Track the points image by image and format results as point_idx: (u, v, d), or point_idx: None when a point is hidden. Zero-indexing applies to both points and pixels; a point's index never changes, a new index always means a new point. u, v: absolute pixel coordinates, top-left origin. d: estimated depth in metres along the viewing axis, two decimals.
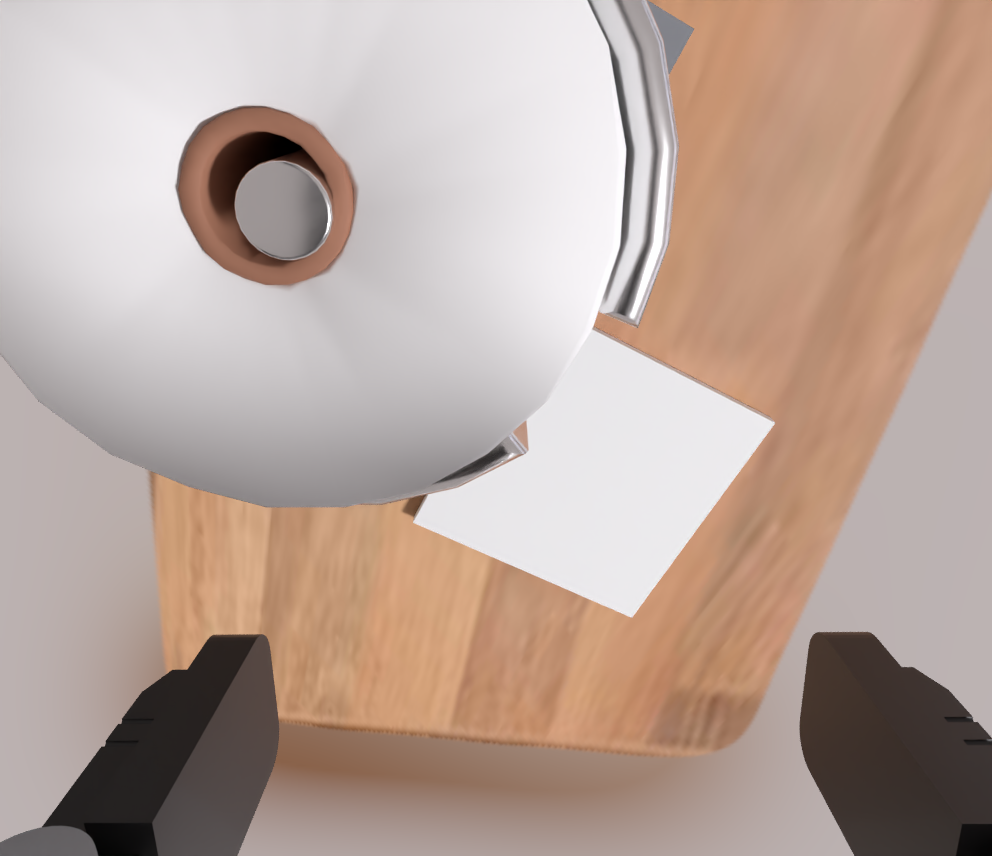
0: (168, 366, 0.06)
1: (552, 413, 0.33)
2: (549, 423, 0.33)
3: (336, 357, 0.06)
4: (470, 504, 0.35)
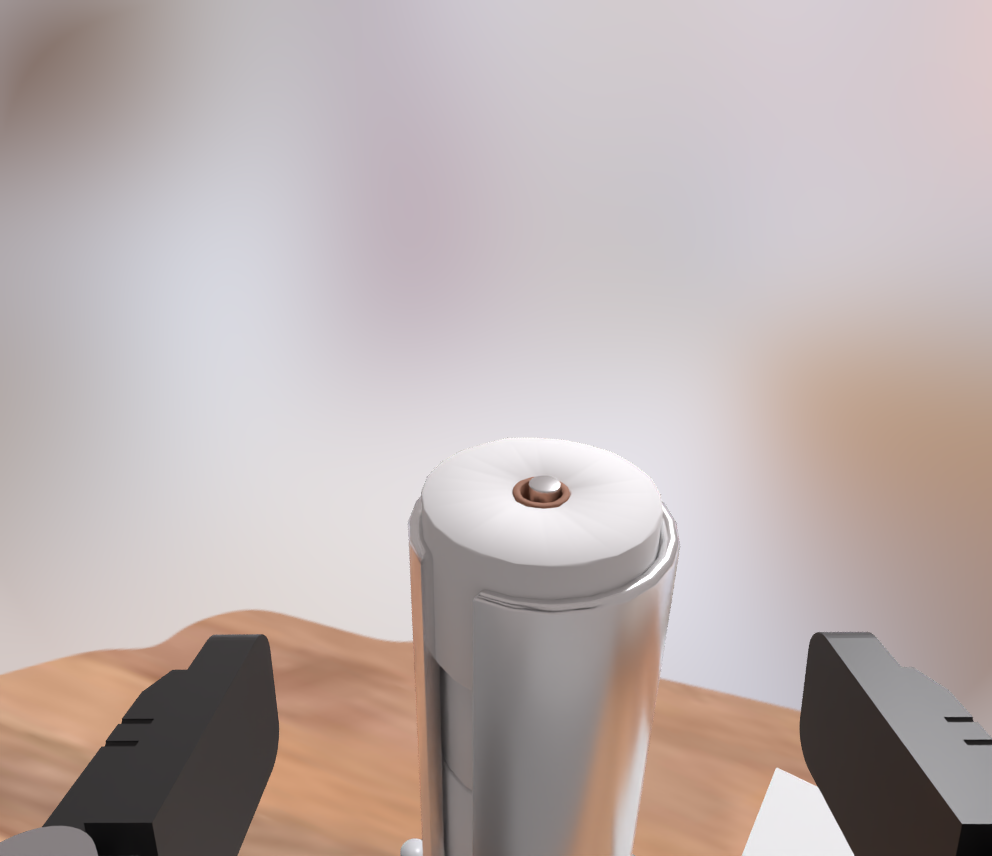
0: (600, 521, 0.17)
1: None
2: None
3: (596, 486, 0.18)
4: None
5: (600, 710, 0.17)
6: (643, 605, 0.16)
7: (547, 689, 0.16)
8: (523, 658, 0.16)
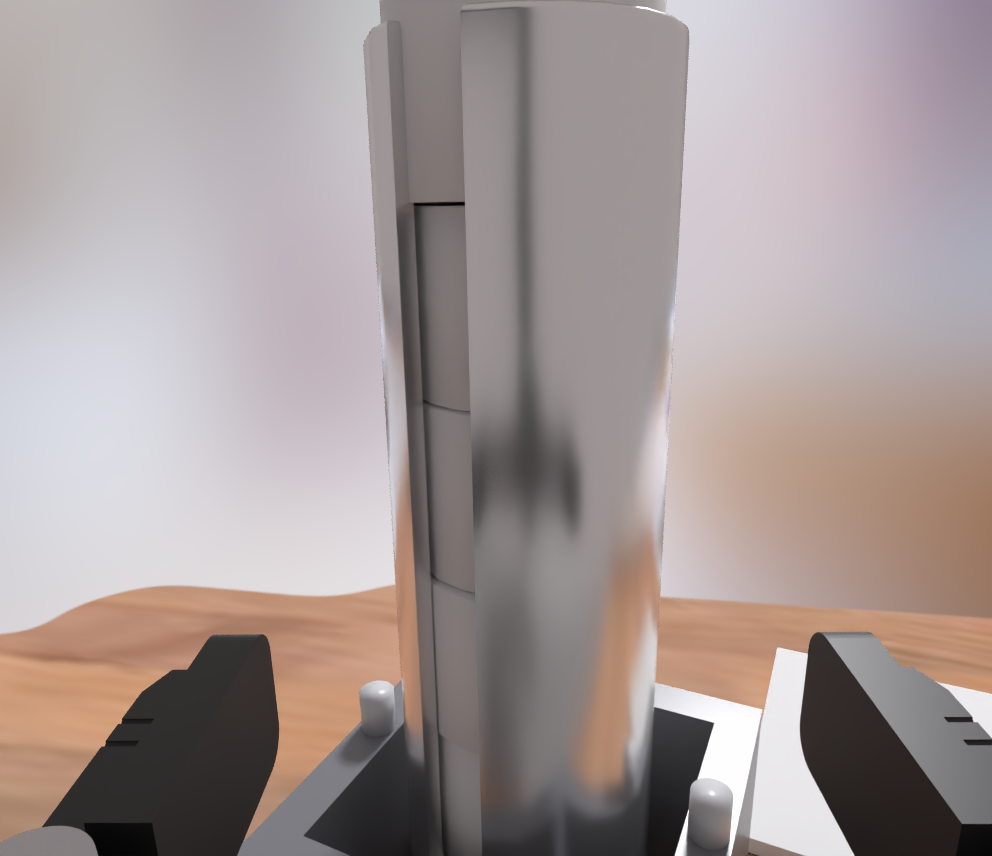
0: None
1: None
2: None
3: None
4: None
5: (625, 198, 0.13)
6: (664, 42, 0.13)
7: (560, 144, 0.13)
8: (527, 91, 0.13)
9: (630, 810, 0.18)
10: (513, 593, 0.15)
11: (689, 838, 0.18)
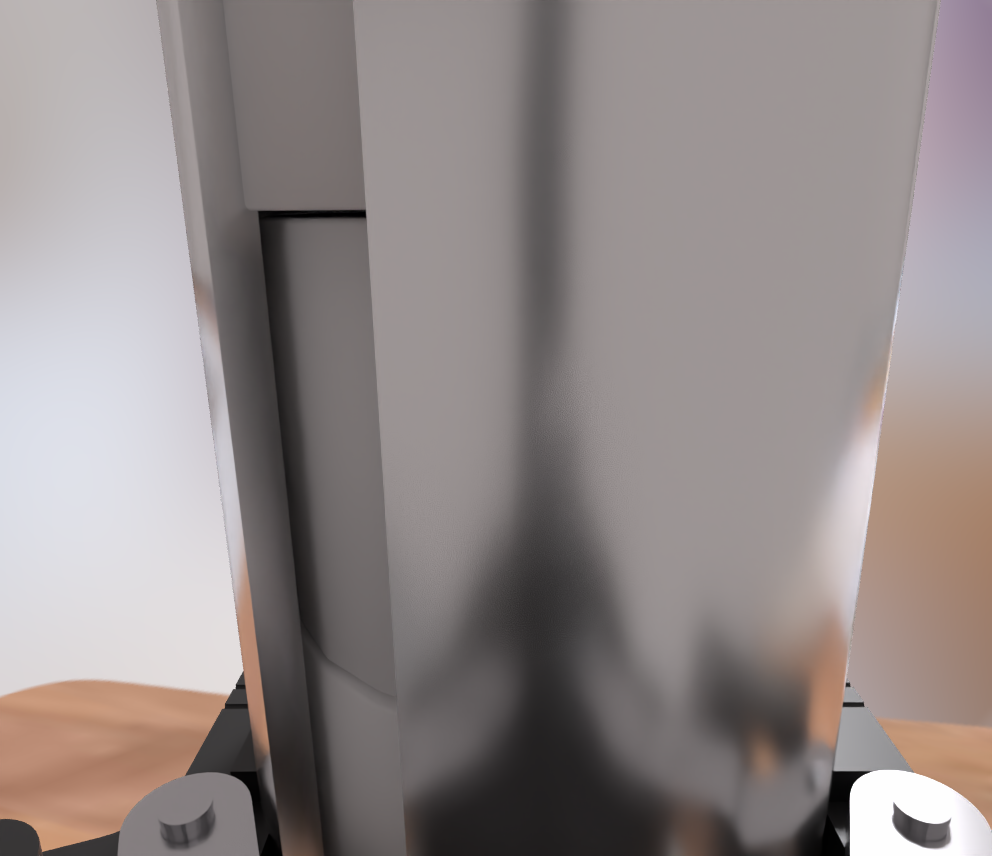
0: None
1: None
2: None
3: None
4: None
5: (827, 202, 0.05)
6: None
7: (656, 32, 0.04)
8: None
9: None
10: None
11: None
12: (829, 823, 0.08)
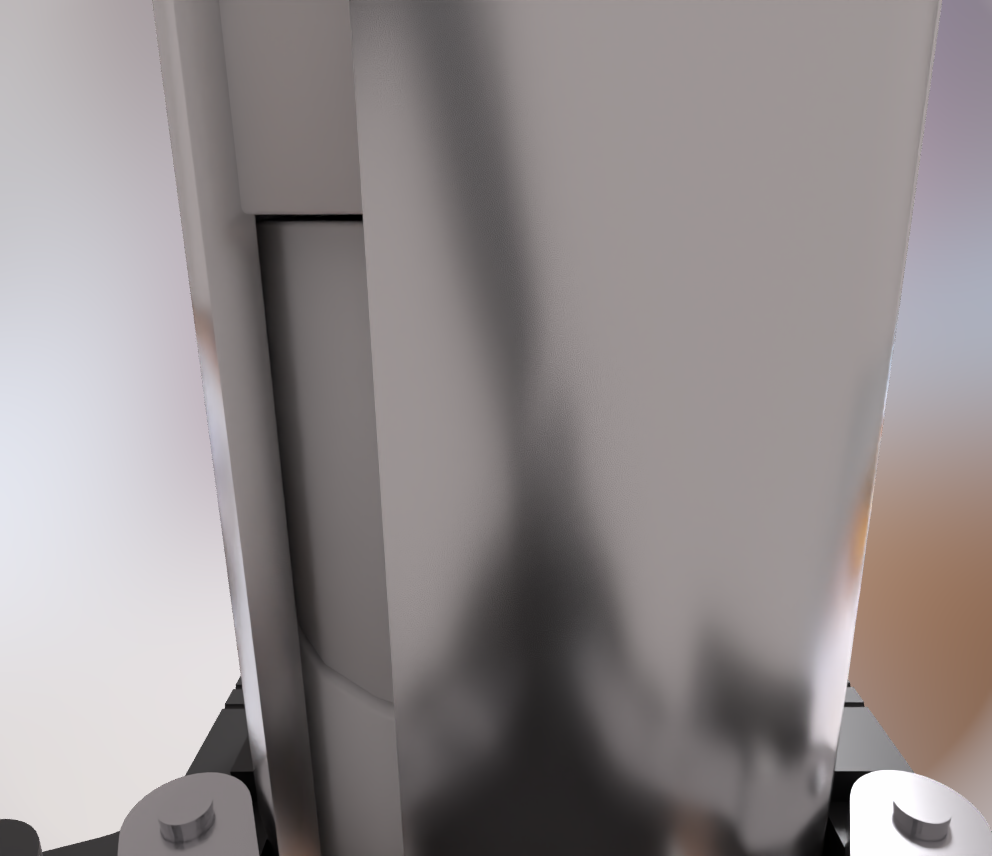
0: None
1: None
2: None
3: None
4: None
5: (828, 206, 0.05)
6: None
7: (656, 35, 0.04)
8: None
9: None
10: None
11: None
12: (829, 823, 0.08)
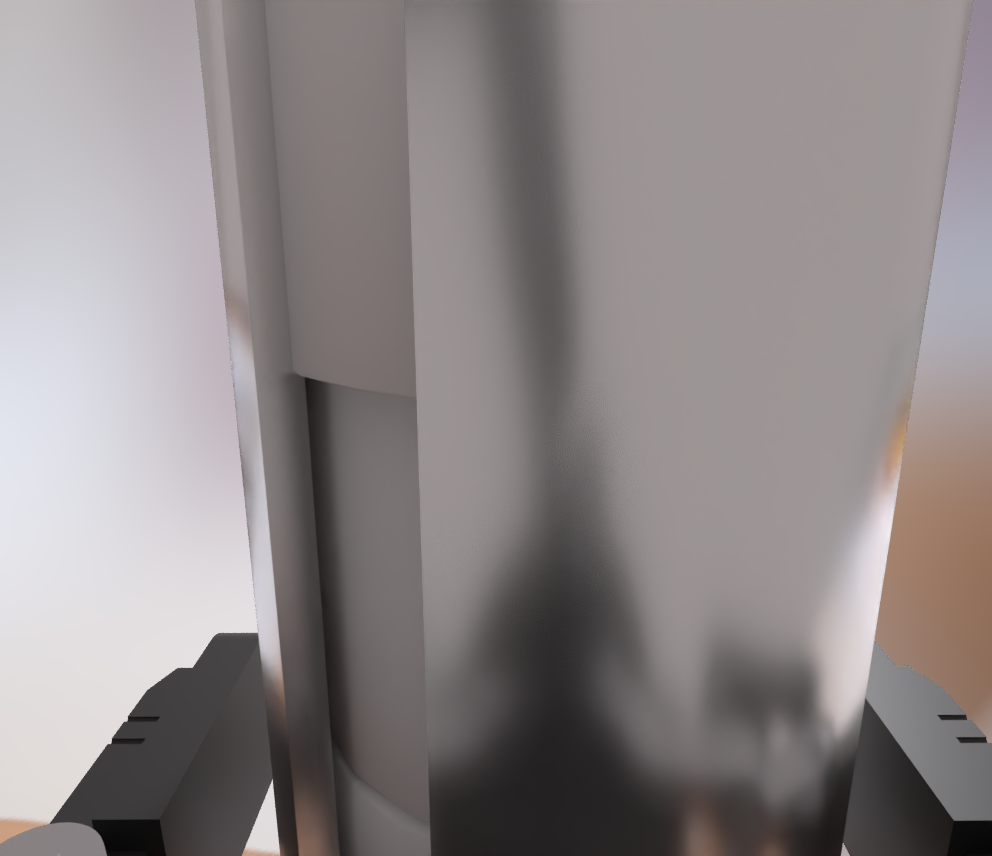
0: None
1: None
2: None
3: None
4: None
5: (841, 401, 0.05)
6: None
7: (689, 271, 0.04)
8: (602, 120, 0.04)
9: None
10: None
11: None
12: None
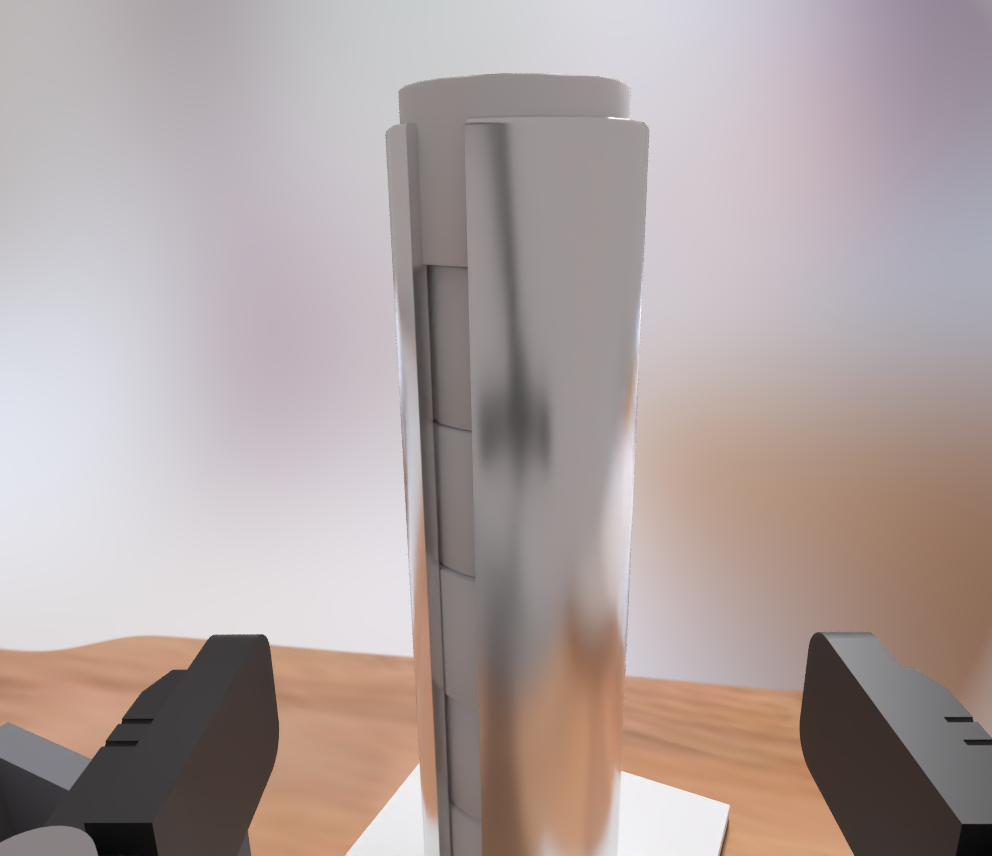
0: None
1: None
2: None
3: None
4: None
5: (594, 265, 0.17)
6: (625, 142, 0.17)
7: (542, 226, 0.16)
8: (517, 186, 0.16)
9: (603, 757, 0.22)
10: (506, 577, 0.19)
11: None
12: None
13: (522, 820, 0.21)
